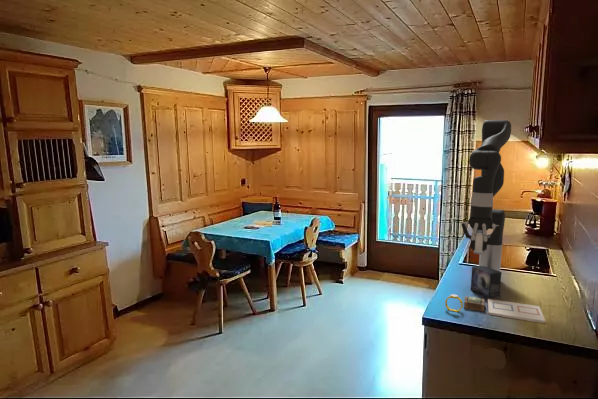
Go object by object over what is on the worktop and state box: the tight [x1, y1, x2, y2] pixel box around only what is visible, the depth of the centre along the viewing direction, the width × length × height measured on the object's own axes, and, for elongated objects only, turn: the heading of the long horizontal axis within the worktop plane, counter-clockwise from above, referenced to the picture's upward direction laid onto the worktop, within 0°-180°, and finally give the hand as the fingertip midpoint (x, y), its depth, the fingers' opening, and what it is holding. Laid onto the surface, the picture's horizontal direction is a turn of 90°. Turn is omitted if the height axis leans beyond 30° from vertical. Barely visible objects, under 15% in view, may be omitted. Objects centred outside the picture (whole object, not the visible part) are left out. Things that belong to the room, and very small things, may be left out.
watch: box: [444, 293, 464, 313], centre depth 155 cm, size 6×3×6 cm, turn 60°
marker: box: [473, 230, 484, 255], centre depth 158 cm, size 3×3×9 cm
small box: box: [470, 265, 503, 299], centre depth 177 cm, size 11×6×10 cm, turn 21°
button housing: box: [463, 295, 486, 312], centre depth 160 cm, size 7×7×2 cm
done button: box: [468, 296, 482, 303], centre depth 160 cm, size 4×4×3 cm
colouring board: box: [487, 298, 547, 324], centre depth 157 cm, size 16×18×1 cm
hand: (478, 250), depth 158 cm, fingers closed on marker, 3 cm apart
